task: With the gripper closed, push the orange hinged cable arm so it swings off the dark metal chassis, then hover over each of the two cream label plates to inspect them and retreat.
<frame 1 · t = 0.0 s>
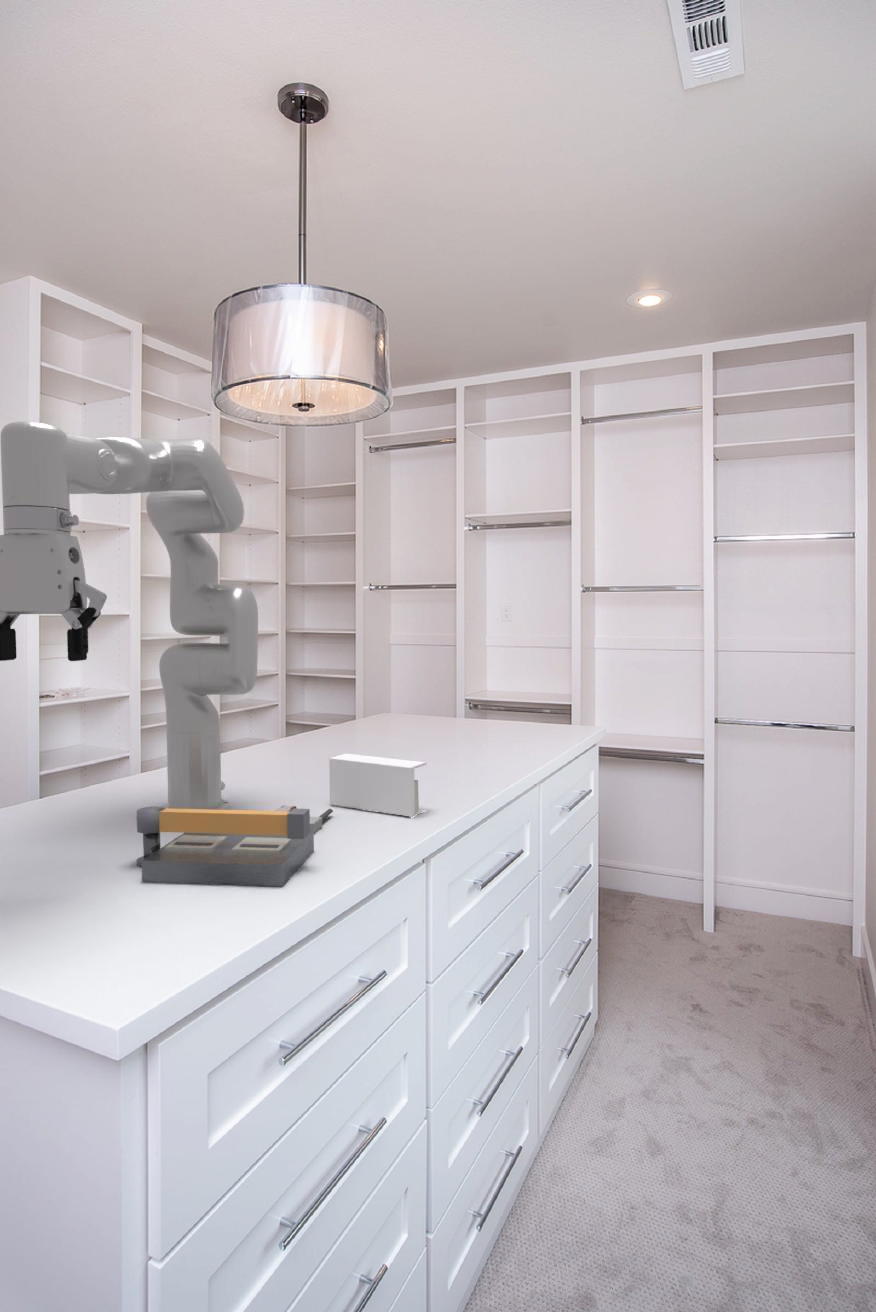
hand: (41, 660, 98), 31 cm above the table, tool pointing down, fingers open, 9 cm apart
chassis: (233, 865, 114), on the table
cable arm: (221, 821, 114), point 7 cm above the table, hinge at 0.0°
pivot post: (152, 862, 115), on the table
walkie-talkie: (293, 833, 132), on the table
cigarette display: (375, 809, 147), on the table
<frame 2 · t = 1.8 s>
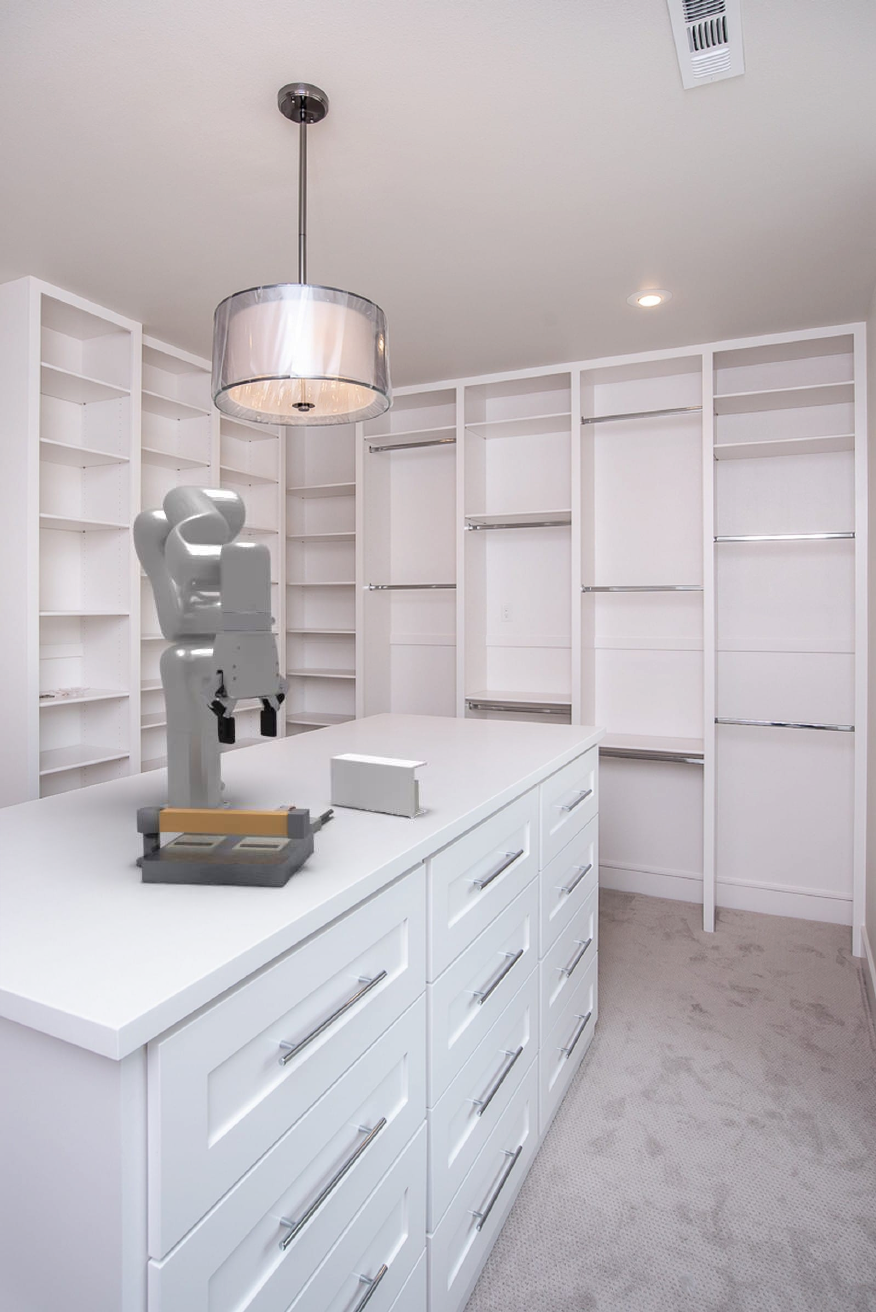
hand: (248, 738, 119), 18 cm above the table, tool pointing down, fingers open, 7 cm apart
nothing on the table moved.
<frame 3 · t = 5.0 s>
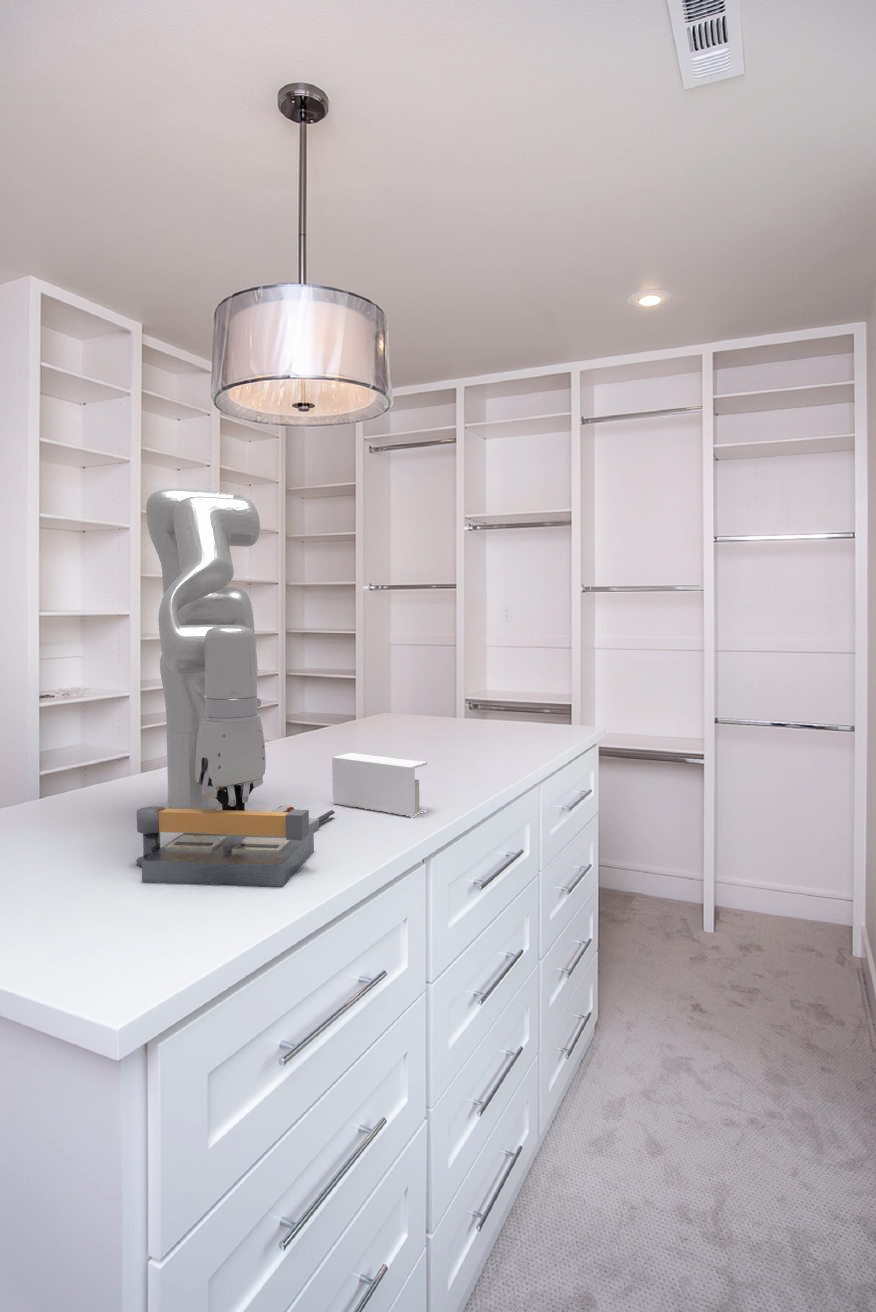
hand: (233, 829, 117), 4 cm above the table, tool pointing down, fingers closed
cable arm: (220, 822, 113), point 7 cm above the table, hinge at -1.4°, touching gripper
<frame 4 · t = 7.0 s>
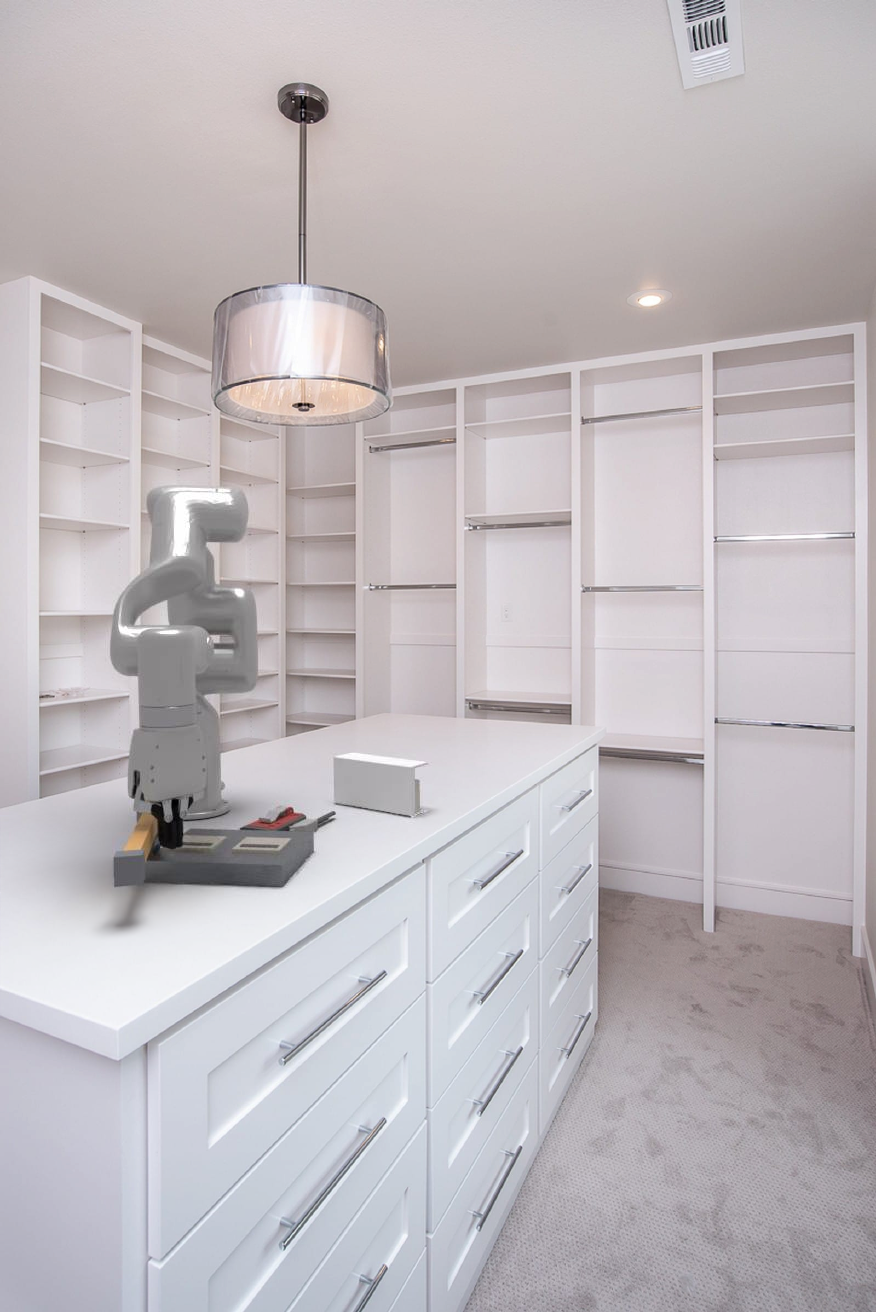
hand: (171, 846, 109), 4 cm above the table, tool pointing down, fingers closed
cable arm: (141, 840, 104), point 7 cm above the table, hinge at -69.8°, touching gripper
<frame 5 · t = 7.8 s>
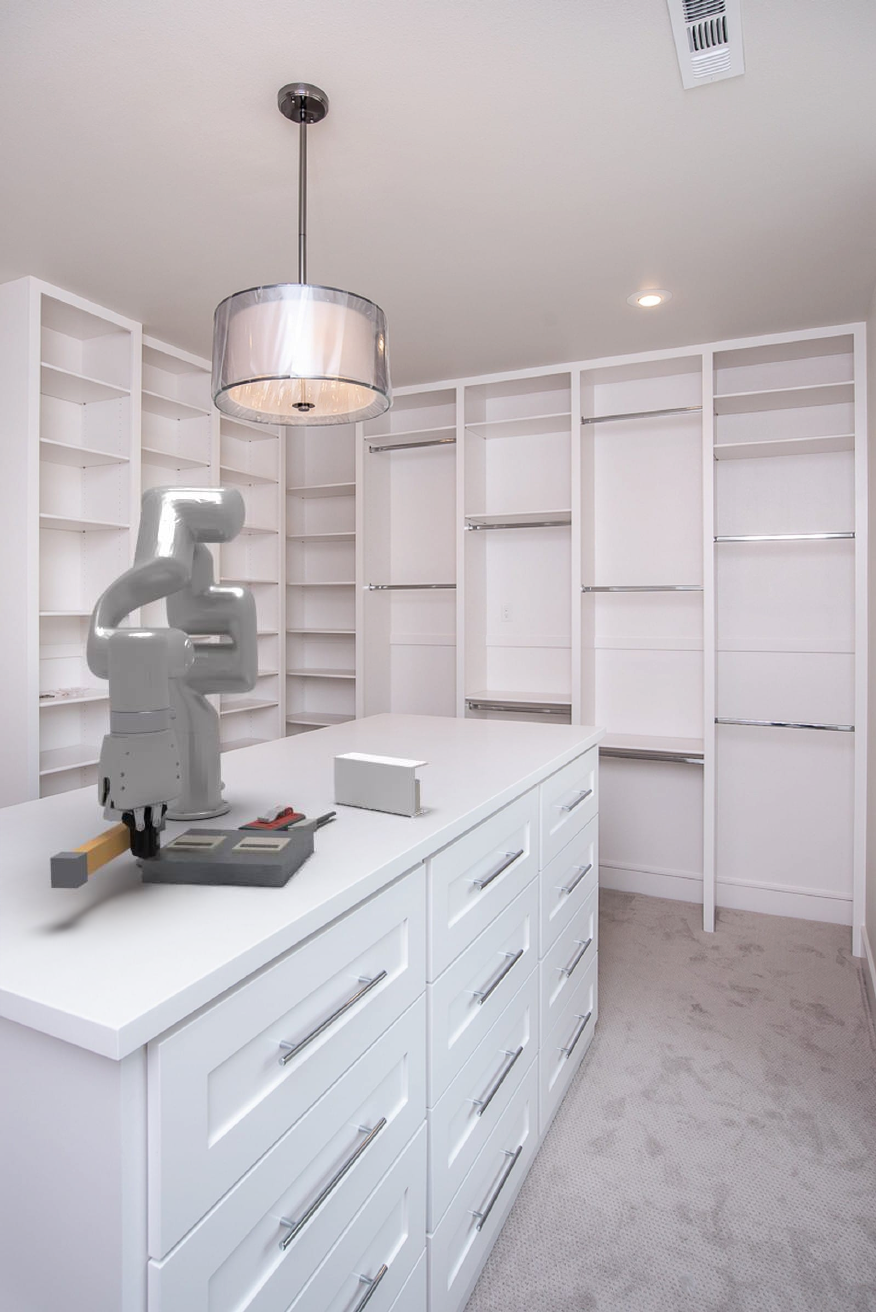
hand: (143, 855, 105), 4 cm above the table, tool pointing down, fingers closed
cable arm: (116, 841, 104), point 7 cm above the table, hinge at -87.6°, touching gripper
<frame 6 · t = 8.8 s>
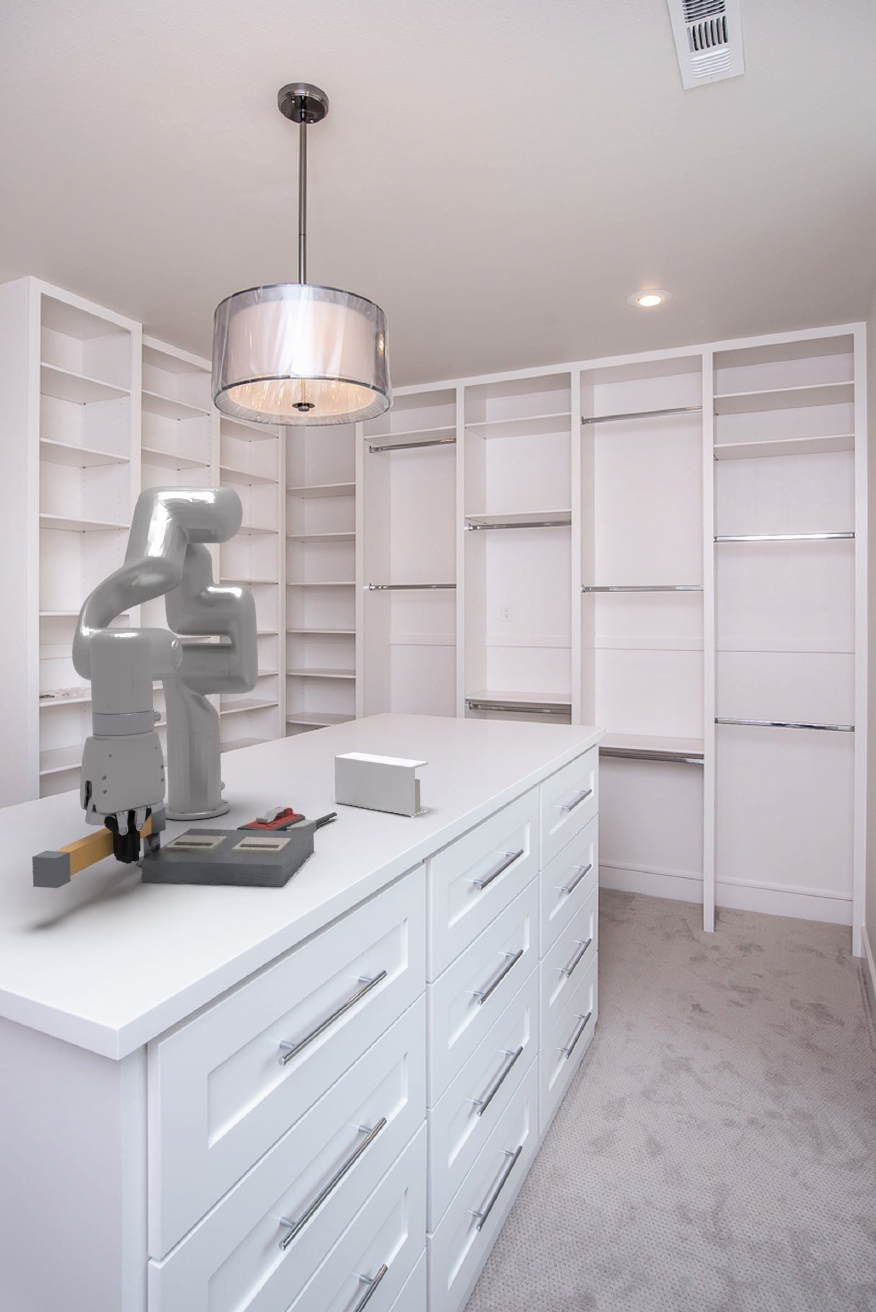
hand: (127, 860, 103), 4 cm above the table, tool pointing down, fingers closed
cable arm: (108, 840, 104), point 7 cm above the table, hinge at -93.3°, touching gripper
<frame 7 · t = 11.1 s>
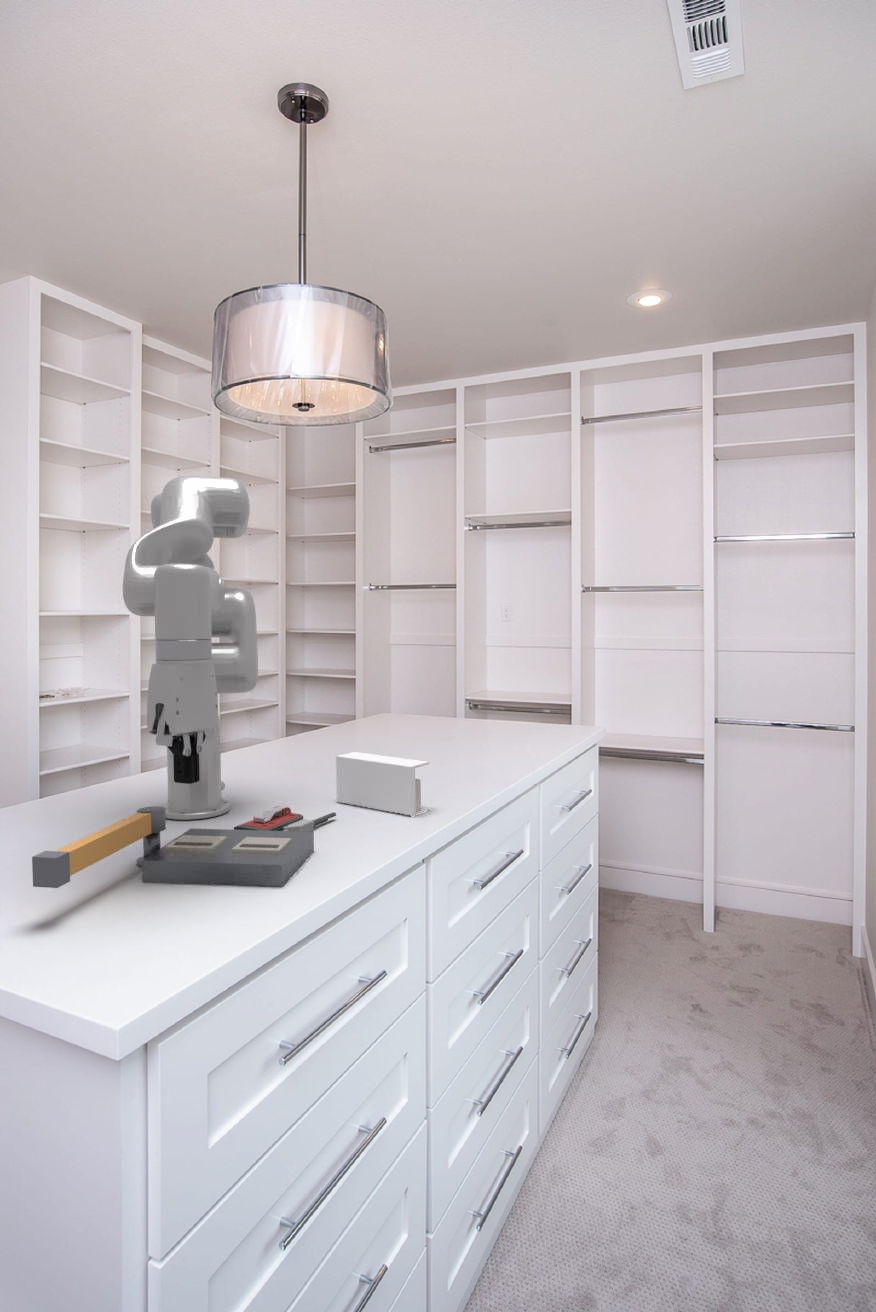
hand: (186, 781, 109), 13 cm above the table, tool pointing down, fingers closed
cable arm: (108, 840, 104), point 7 cm above the table, hinge at -93.4°
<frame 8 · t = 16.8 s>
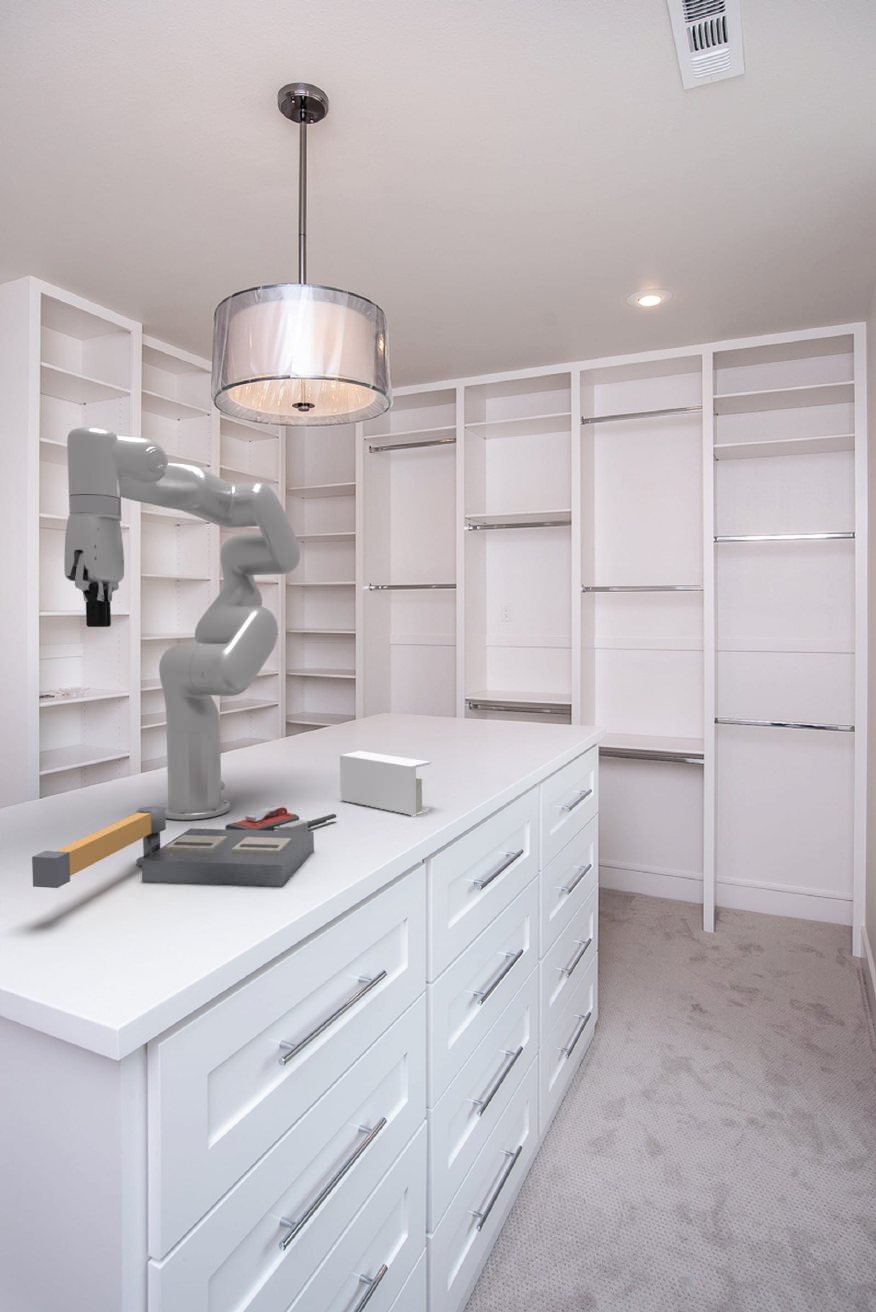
hand: (98, 626, 122), 35 cm above the table, tool pointing down, fingers closed
at the end: cable arm at -93° (first picture: +0°) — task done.
